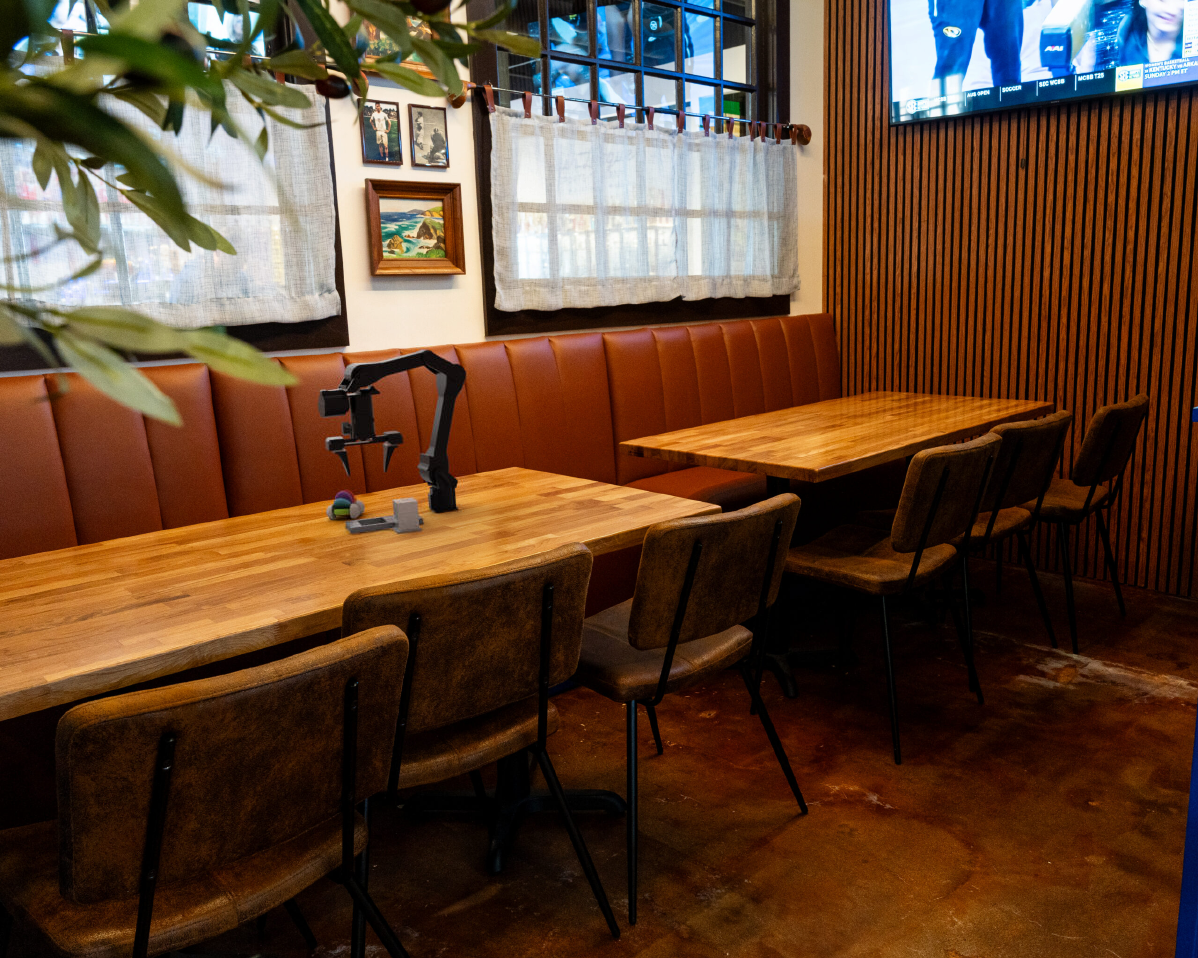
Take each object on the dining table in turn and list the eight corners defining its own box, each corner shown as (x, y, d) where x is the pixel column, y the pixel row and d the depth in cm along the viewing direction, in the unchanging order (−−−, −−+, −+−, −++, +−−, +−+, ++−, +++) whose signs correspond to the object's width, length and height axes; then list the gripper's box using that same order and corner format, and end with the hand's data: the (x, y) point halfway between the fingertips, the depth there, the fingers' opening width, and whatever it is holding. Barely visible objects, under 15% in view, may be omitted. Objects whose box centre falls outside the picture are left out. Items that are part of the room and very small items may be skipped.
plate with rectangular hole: (415, 517, 256) (415, 512, 256) (423, 524, 249) (422, 518, 249) (345, 527, 249) (345, 521, 249) (351, 533, 242) (350, 527, 242)
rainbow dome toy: (367, 512, 265) (365, 486, 264) (356, 521, 256) (353, 493, 255) (337, 513, 266) (334, 487, 265) (324, 521, 257) (321, 494, 255)
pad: (416, 525, 248) (415, 523, 248) (421, 530, 242) (421, 528, 242) (392, 528, 245) (392, 527, 245) (397, 533, 240) (397, 532, 240)
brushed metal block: (414, 524, 247) (412, 497, 246) (419, 528, 243) (417, 501, 241) (394, 527, 245) (392, 499, 244) (399, 531, 241) (397, 503, 239)
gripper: (391, 407, 260) (396, 465, 263) (319, 413, 252) (325, 473, 255) (401, 411, 250) (406, 471, 253) (326, 418, 242) (332, 480, 245)
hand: (367, 474), depth 252 cm, fingers open, 9 cm apart
